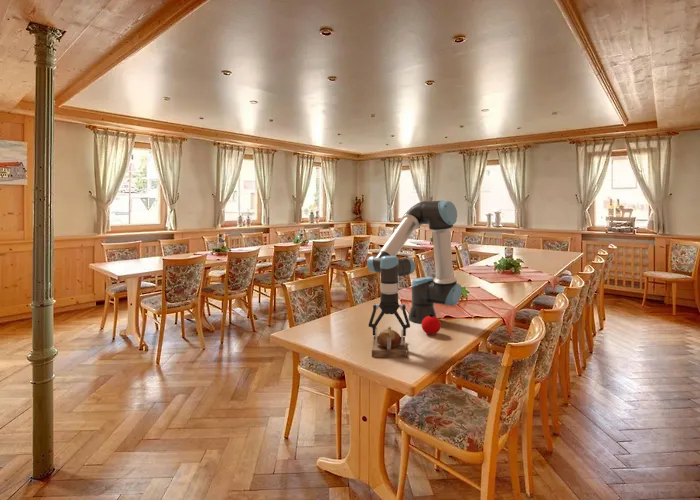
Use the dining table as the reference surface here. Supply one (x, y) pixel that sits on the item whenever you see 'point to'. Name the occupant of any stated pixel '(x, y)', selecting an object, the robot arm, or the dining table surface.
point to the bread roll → (389, 333)
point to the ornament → (431, 324)
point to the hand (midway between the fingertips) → (389, 342)
